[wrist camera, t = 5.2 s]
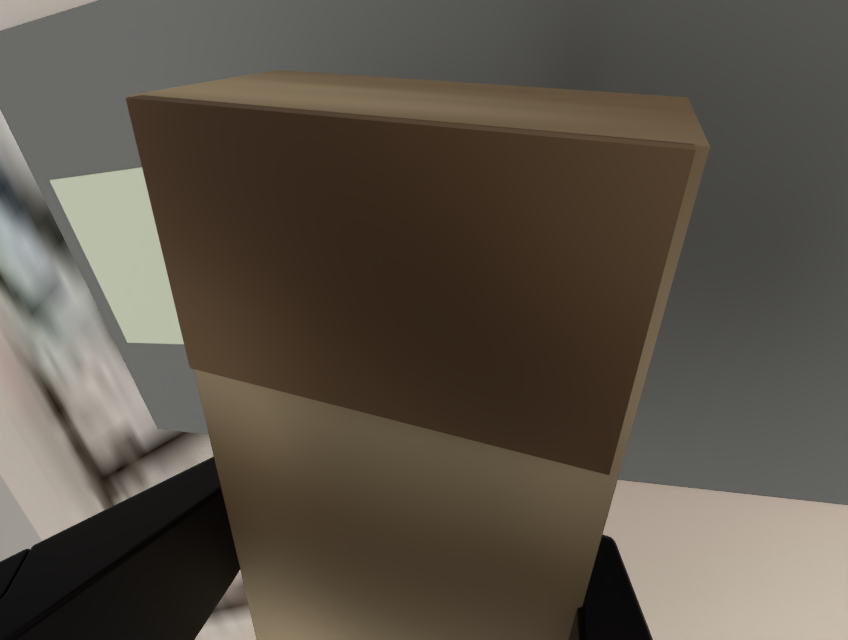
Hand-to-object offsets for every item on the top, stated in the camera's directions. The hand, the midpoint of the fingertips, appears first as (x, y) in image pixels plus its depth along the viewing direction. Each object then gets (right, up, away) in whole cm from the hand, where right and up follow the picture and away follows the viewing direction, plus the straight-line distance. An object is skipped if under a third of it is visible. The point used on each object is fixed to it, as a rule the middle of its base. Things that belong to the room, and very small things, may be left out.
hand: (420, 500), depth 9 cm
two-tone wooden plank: (0, 0, +1) cm, 1 cm away
